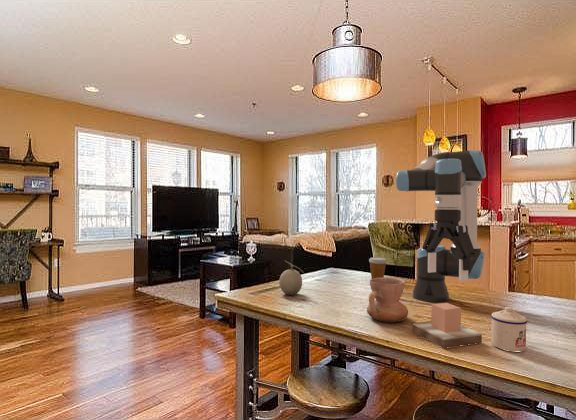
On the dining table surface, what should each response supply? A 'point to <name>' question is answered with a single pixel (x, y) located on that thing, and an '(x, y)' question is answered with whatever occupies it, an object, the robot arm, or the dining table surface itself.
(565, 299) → the dining table surface
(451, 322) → the block
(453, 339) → the plinth
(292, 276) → the fruit
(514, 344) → the teacup with lid
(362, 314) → the dining table surface
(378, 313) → the ceramic jug
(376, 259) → the disposable coffee cup
